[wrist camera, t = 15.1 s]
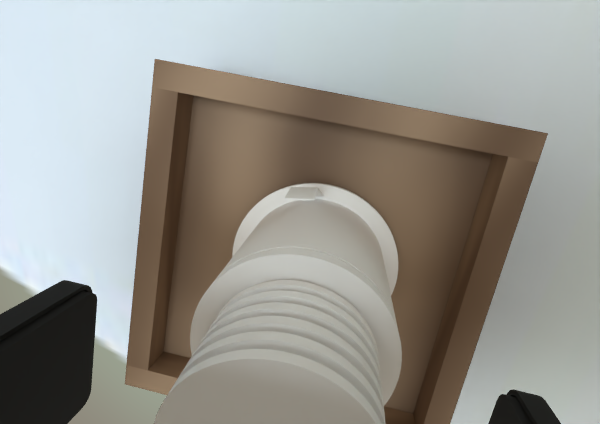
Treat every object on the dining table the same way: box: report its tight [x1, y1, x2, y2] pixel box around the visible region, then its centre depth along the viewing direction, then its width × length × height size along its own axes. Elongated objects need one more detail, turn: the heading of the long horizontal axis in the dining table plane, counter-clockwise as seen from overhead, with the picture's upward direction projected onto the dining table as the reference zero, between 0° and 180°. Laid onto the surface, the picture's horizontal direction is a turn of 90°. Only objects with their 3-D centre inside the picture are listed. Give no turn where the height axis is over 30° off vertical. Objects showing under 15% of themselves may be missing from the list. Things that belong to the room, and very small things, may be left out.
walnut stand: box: [125, 59, 548, 424], centre depth 18 cm, size 14×14×6 cm
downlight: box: [154, 183, 402, 424], centre depth 12 cm, size 8×7×10 cm
